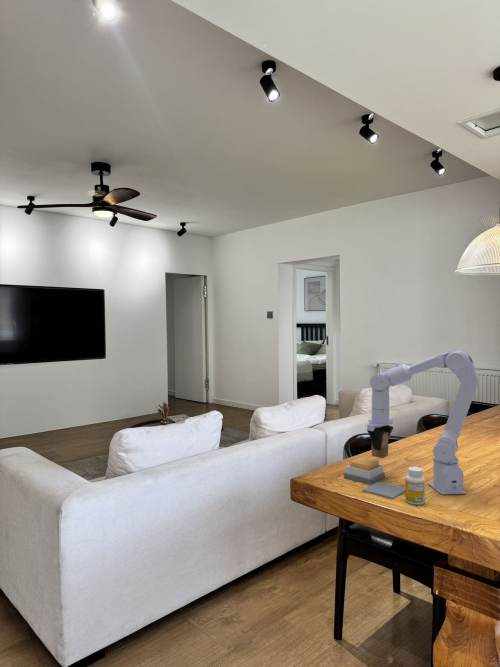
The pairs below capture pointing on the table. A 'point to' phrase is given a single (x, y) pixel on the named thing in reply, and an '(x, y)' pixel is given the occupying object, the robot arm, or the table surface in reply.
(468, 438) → the table surface
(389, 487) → the rubber mat
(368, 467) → the button
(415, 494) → the supplement bottle
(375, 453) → the brown wooden beam
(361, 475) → the switch panel
